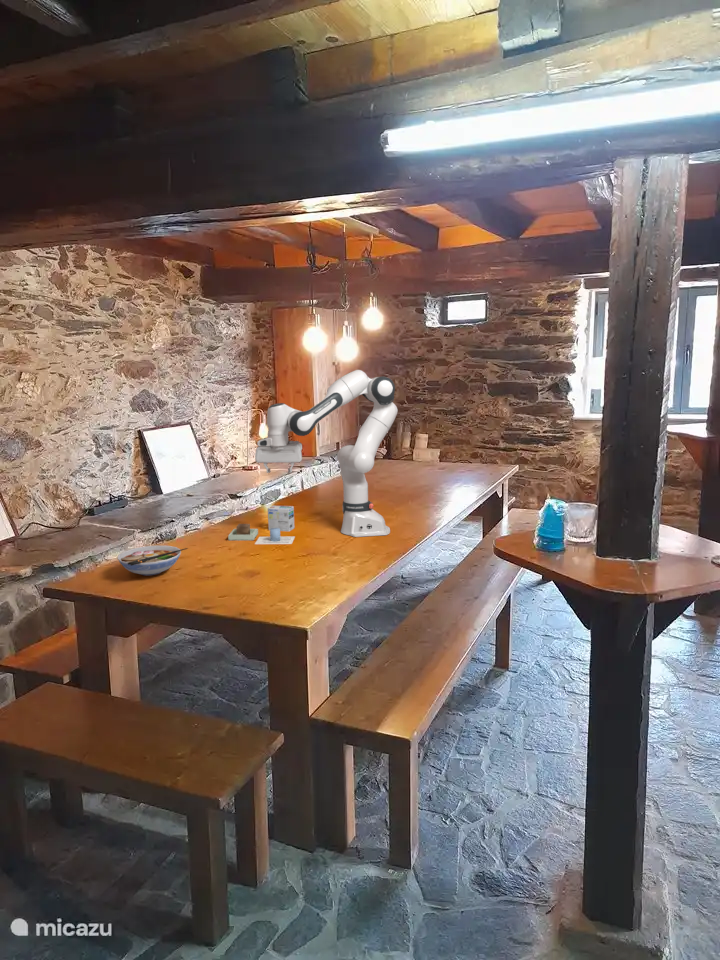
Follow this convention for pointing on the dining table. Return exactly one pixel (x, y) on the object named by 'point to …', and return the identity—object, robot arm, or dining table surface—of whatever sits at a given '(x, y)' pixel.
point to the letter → (282, 541)
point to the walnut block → (243, 529)
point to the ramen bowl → (149, 559)
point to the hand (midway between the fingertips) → (279, 472)
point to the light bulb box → (281, 517)
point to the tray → (235, 537)
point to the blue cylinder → (275, 534)
